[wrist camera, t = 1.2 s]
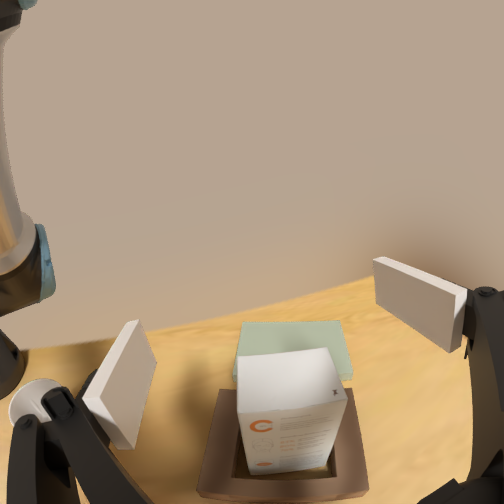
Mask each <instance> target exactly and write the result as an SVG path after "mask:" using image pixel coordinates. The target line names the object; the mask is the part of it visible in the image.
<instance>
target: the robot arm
mask: <svg viewBox="0 0 504 504" xmlns="http://www.w3.org/2000/svg"><path fill="white" fill-rule="evenodd" d="M36 3H37V0H0V317H2V316H4V315H6V314H9V313H11V312H14V311H16V310H19V309H22V308H24V307H27V306H30V305H32V304H35V303H40V302H41V301H42V300H43V299H46V298H48V297H50V296H52V295H53V293H54V292H55V289H56V283H55V276H54V271H53V266H52V262H51V257H50V250H49V245H48V241H47V236H46V232H45V228H44V226H43V225H42V224H34V223H33V221H32V219H31V218H30V216H28V215H27V214H26V213H24V212H21V211H20V207H19V203H18V199H17V195H16V191H15V187H14V182H13V177H12V172H11V167H10V162H9V156H8V149H7V142H6V134H5V124H4V112H3V93H2V92H3V89H2V73H3V50H4V49H3V48H4V46H5V43H6V42H7V40H8V39H9V38H10V37H11V35H12V34H13V33H14V32H15V31H16V30H17V29H18V28H19V26H20V20H21V14H22V10H27V9H29V8H31V7H33V6H35V4H36ZM373 268H374V280H375V294H376V304H378V305H379V306H381V307H382V308H384V309H385V310H387V311H388V312H390V313H391V314H393V315H394V316H396V317H397V318H399V319H400V320H402V321H403V322H404V323H406V324H407V325H409V326H410V327H412V328H413V329H415V330H416V331H418V332H419V333H421V334H422V335H423V336H425V337H426V338H428V339H429V340H431V341H432V342H434V343H435V344H436V345H438V346H439V347H441V348H442V349H444V350H445V351H446V352H448V353H451V352H453V351H454V350H456V349H457V348H459V347H460V346H461V341H462V334H463V335H465V336H467V337H468V340H467V346H466V351H465V356H464V359H466V357H467V355H468V358H469V366H470V376H471V387H472V404H473V445H472V461H471V468H470V472H469V475H468V477H467V480H466V481H465V482H462V483H458V482H457V481H456V480H455V479H454V478H453V479H452V480H450V481H449V482H448V483H446V484H445V485H443V486H442V487H440V488H439V489H437V490H436V491H434V492H433V493H431V494H430V495H428V496H426V497H425V498H423V499H421V500H420V501H419V502H418V503H417V504H504V291H500V292H498V291H497V290H496V289H495V288H492V287H479V288H476V289H475V290H474V291H472V290H470V289H468V288H465V287H463V286H460V285H456V284H455V283H453V282H450V281H448V280H445V279H443V278H439V277H436V276H434V275H431V274H429V273H426V272H423V271H421V270H418V269H415V268H413V267H411V266H408V265H405V264H402V263H400V262H397V261H395V260H392V259H389V258H387V257H384V256H383V257H379V258H376V259H373ZM156 364H157V362H156V359H155V357H154V355H153V352H152V350H151V347H150V345H149V343H148V340H147V338H146V335H145V333H144V330H143V327H142V325H141V322H140V320H134V321H129V322H127V323H126V324H125V326H124V327H123V329H122V331H121V332H120V334H119V336H118V337H117V339H116V340H115V342H114V344H113V345H112V347H111V349H110V350H109V352H108V354H107V355H106V357H105V359H104V360H103V362H102V364H101V366H100V367H99V369H96V370H95V371H93V372H92V373H91V374H90V375H89V376H88V378H87V380H86V381H85V384H84V385H83V386H82V389H81V390H80V392H79V393H78V395H77V397H76V399H74V398H73V396H72V394H71V393H70V391H69V389H68V388H67V387H63V386H61V387H56V388H53V389H51V390H49V391H48V392H46V393H45V394H44V395H43V397H42V398H41V405H42V406H43V408H44V409H45V411H46V412H47V414H48V415H49V417H50V418H51V420H52V421H48V422H43V423H41V422H40V420H39V419H38V418H37V416H36V415H35V414H26V415H23V416H21V418H19V419H18V420H17V421H16V423H15V425H14V428H13V434H12V440H11V447H10V455H9V464H8V476H7V504H80V499H79V495H78V490H77V484H76V479H75V476H76V478H77V480H78V482H79V484H80V486H81V488H82V490H83V492H84V493H85V495H86V497H87V499H88V501H89V502H90V504H154V503H153V502H152V501H151V500H150V499H149V497H148V496H147V495H146V494H145V493H144V492H143V491H142V490H141V488H140V487H139V486H138V485H137V484H136V483H135V481H134V480H133V479H132V478H131V476H130V475H129V474H128V473H127V471H126V470H125V469H124V468H123V466H122V465H121V464H120V462H119V461H118V460H117V458H116V457H115V456H114V454H113V453H112V452H111V450H110V449H109V448H108V446H109V443H110V440H111V442H112V443H113V444H114V446H115V447H116V448H117V450H134V449H135V445H136V440H137V436H138V432H139V428H140V424H141V420H142V416H143V412H144V408H145V404H146V400H147V396H148V392H149V389H150V385H151V381H152V378H153V374H154V371H155V367H156ZM24 368H25V361H24V358H23V356H22V354H21V353H20V351H19V349H18V347H17V346H16V345H15V344H14V343H13V342H12V341H11V340H10V339H9V338H8V337H7V336H6V335H5V334H4V333H3V332H2V330H1V329H0V399H2V398H3V397H5V396H6V395H8V394H9V393H10V392H11V391H12V390H13V389H14V388H15V387H16V385H17V384H18V382H19V381H20V379H21V377H22V375H23V372H24Z"/></svg>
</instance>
